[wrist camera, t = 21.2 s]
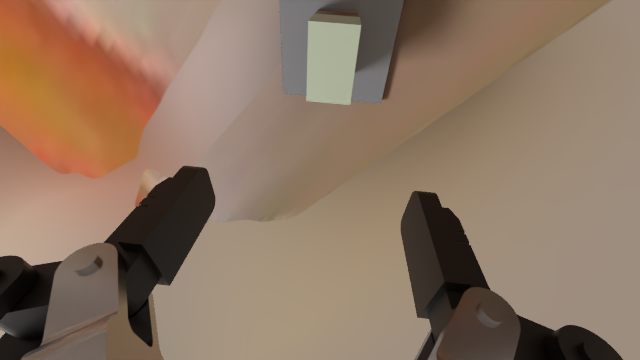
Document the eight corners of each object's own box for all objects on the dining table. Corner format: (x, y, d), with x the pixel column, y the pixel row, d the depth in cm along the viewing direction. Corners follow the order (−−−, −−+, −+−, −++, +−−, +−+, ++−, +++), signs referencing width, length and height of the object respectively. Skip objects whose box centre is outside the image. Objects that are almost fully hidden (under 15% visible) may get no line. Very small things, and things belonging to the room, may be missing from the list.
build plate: (284, 91, 36) (282, 93, 36) (280, -35, 27) (278, -36, 27) (380, 100, 36) (380, 103, 35) (408, -25, 27) (409, -25, 26)
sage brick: (312, 84, 29) (306, 100, 26) (314, 13, 25) (308, 20, 21) (350, 87, 29) (350, 105, 25) (359, 17, 25) (361, 25, 21)
